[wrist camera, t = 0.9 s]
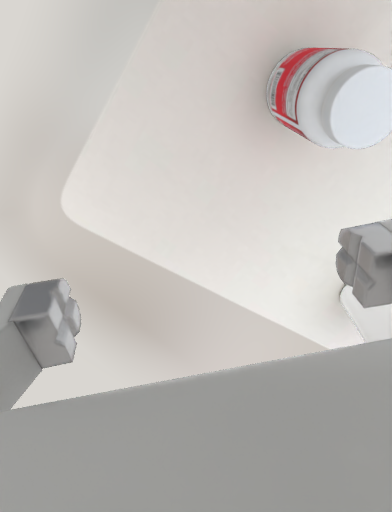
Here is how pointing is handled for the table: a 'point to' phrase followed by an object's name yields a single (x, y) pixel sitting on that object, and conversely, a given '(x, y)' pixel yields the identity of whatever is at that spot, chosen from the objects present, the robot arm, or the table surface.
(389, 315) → the drinking glass
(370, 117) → the pill bottle
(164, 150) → the table surface
